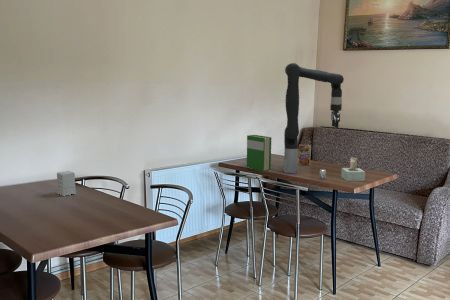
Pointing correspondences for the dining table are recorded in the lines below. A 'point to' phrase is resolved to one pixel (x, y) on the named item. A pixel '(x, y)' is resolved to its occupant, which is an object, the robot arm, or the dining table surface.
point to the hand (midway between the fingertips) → (335, 127)
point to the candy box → (304, 155)
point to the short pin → (322, 174)
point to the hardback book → (259, 152)
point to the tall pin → (353, 164)
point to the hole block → (353, 174)
